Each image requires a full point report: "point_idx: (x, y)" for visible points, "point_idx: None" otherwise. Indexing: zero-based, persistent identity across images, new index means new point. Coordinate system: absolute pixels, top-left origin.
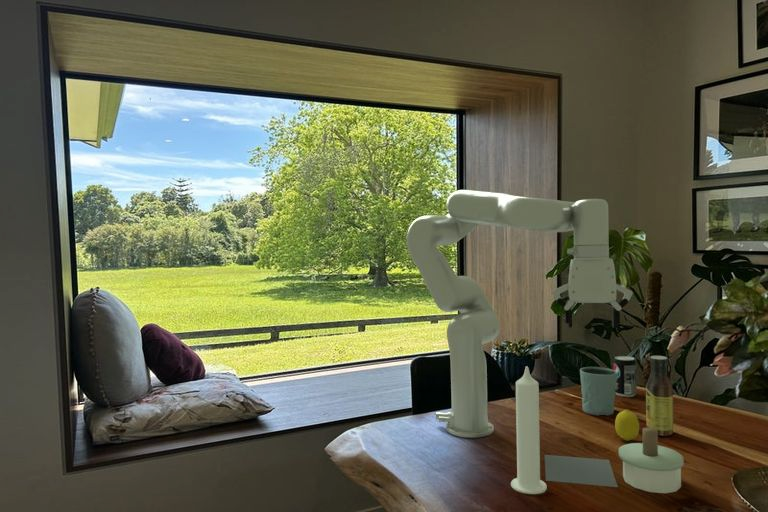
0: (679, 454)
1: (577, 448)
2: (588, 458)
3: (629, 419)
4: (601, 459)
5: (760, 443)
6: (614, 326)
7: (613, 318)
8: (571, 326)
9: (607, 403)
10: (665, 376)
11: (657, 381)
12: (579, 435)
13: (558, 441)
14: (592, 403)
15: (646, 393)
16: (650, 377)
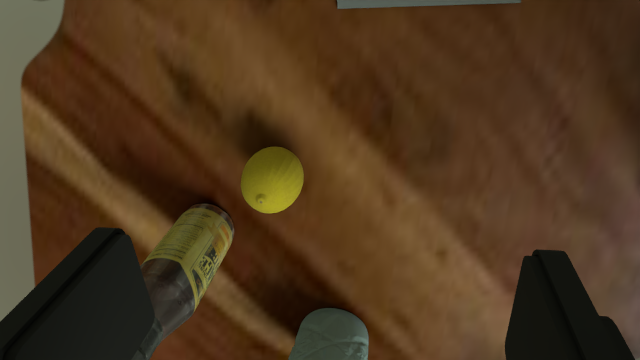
0: None
1: (411, 87)
2: (392, 4)
3: (260, 168)
4: (356, 5)
5: (29, 194)
6: (114, 239)
7: (74, 302)
8: (534, 257)
9: (310, 331)
10: None
11: (152, 294)
12: (395, 180)
13: (457, 128)
14: (345, 332)
15: (201, 284)
16: (169, 317)
